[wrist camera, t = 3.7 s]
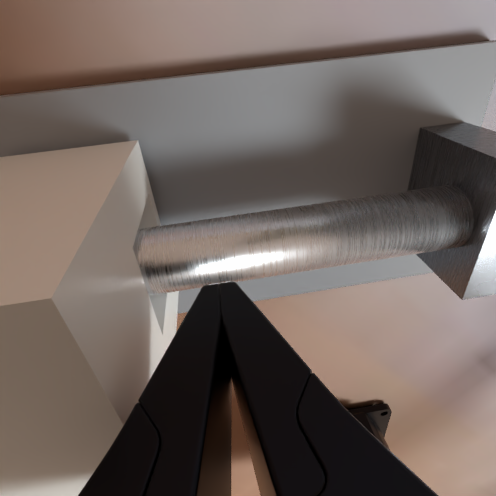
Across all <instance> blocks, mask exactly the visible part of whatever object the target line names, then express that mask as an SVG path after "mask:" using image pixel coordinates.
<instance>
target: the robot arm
mask: <svg viewBox="0 0 496 496" xmlns="http://www.w3.org/2000/svg"><path fill="white" fill-rule="evenodd" d="M232 382H233V386H234V390H235V394H236V398H237V402H238V406H239V410H240V414H241V418H242V422H243V426H244V430H245V434H246V438H247V442H248V446H249V450H250V454H251V458H252V462H253V466H254V470H255V474H256V478H257V482H258V486H259V490H260V495H261V496H438V495H437V494H436V493H435V492H434V491H433V490H432V489H431V488H429V487H428V486H427V485H426V484H425V483H424V482H423V481H422V480H421V479H420V478H419V477H418V476H417V475H415V474H414V473H413V472H412V471H411V470H410V469H409V468H408V467H407V466H406V465H405V464H404V463H403V462H402V461H400V460H399V459H398V458H397V457H396V456H395V455H394V454H393V453H392V452H391V451H390V449H389V447H388V445H387V443H386V441H385V439H384V436H385V433H386V429H387V426H388V422H389V419H390V416H391V409H390V407H389V405H388V404H378V405H373V406H368V407H362V408H357V409H352V410H347V409H346V408H345V407H344V406H343V405H342V404H341V403H340V402H339V401H338V400H337V399H336V397H335V396H334V395H333V394H332V393H331V392H330V391H329V390H328V389H327V388H326V386H325V385H324V384H323V383H322V382H321V381H320V379H319V378H318V377H317V376H316V375H315V374H314V373H312V370H311V369H310V368H309V367H308V366H307V365H306V363H305V362H304V361H303V360H302V359H301V358H300V356H299V355H298V354H297V353H296V352H295V351H294V349H293V348H292V347H291V346H290V345H289V344H288V342H287V341H286V340H285V339H284V338H283V337H282V335H281V334H280V333H279V332H278V331H277V330H276V328H275V327H274V326H273V325H272V324H271V323H270V321H269V320H268V319H267V318H266V317H265V316H264V314H263V313H262V312H261V311H260V310H259V309H258V307H257V306H256V305H255V304H254V303H253V302H252V300H251V299H250V298H249V297H248V296H247V295H246V293H245V292H244V291H243V290H242V289H241V288H240V286H239V285H238V284H237V283H236V282H235V281H229V282H222V283H220V284H218V283H215V284H208V285H204V286H203V287H202V288H201V290H200V292H199V293H198V295H197V297H196V299H195V300H194V302H193V304H192V306H191V308H190V309H189V311H188V313H187V315H186V316H185V318H184V320H183V322H182V323H181V325H180V327H179V329H178V331H177V332H176V334H175V336H174V338H173V339H172V341H171V343H170V345H169V346H168V348H167V350H166V352H165V353H164V355H163V357H162V359H161V361H160V362H159V364H158V366H157V368H156V369H155V371H154V373H153V375H152V376H151V378H150V380H149V382H148V384H147V385H146V387H145V389H144V391H143V392H142V394H141V396H140V398H139V399H138V402H139V403H136V404H135V406H134V408H133V410H132V411H131V413H130V415H129V417H128V419H127V420H126V422H125V424H124V425H123V427H122V429H121V430H120V432H119V434H118V435H117V437H116V439H115V440H114V442H113V444H112V445H111V447H110V449H109V450H108V452H107V453H106V455H105V456H104V458H103V459H102V461H101V462H100V464H99V465H98V467H97V468H96V470H95V471H94V473H93V474H92V476H91V477H90V479H89V480H88V482H87V483H86V485H85V486H84V487H83V489H82V490H81V492H80V493H79V495H78V496H231V404H232Z"/></svg>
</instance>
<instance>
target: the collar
mask: <svg viewBox="0 0 496 496" xmlns="http://www.w3.org/2000/svg"><path fill="white" fill-rule="evenodd" d="M155 226H161V223H160V220H159V216H158V212H157V209H156V205H155V201H154V197H153V194H152V190H151V186H150V183H149V179H148V175H147V172H146V168H145V164H144V161H143V157H142V153H141V149H140V146H139V142H138V140H135V141H126V142H118V143H110V144H102V145H94V146H86V147H78V148H70V149H62V150H54V151H46V152H38V153H30V154H22V155H14V156H5V157H0V496H78V495H79V493H80V492H81V490H82V489H83V487H84V486H85V485H86V483H87V482H88V480H89V479H90V477H91V476H92V474H93V473H94V471H95V470H96V468H97V467H98V465H99V464H100V462H101V461H102V459H103V458H104V456H105V455H106V453H107V452H108V450H109V449H110V447H111V445H112V444H113V442H114V440H115V439H116V437H117V435H118V434H119V432H120V430H121V429H122V427H123V425H124V424H125V422H126V420H127V419H128V417H129V415H130V413H131V411H132V410H133V408H134V406H135V404H136V403H139V402H138V399H139V398H140V396H141V394H142V392H143V391H144V389H145V387H146V385H147V384H148V382H149V380H150V378H151V376H152V375H153V373H154V371H155V369H156V368H157V366H158V364H159V362H160V361H161V359H162V357H163V355H164V353H165V352H166V350H167V348H168V346H169V345H170V343H171V341H172V339H173V338H174V336H175V334H176V327H177V311H178V295H179V291H175V292H169V293H162V294H156V295H150V296H149V295H148V292H147V289H146V286H145V283H144V280H143V277H142V274H141V271H140V268H139V265H138V262H137V260H136V257H135V254H134V251H133V245H134V241H135V238H136V234H137V231H138V229H141V228H148V227H155Z"/></svg>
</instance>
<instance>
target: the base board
mask: <svg viewBox="0 0 496 496" xmlns="http://www.w3.org/2000/svg"><path fill="white" fill-rule="evenodd" d="M495 79H496V41H483V42H474V43H466V44H457V45H448V46H439V47H430V48H421V49H412V50H403V51H394V52H385V53H376V54H367V55H358V56H349V57H340V58H331V59H322V60H313V61H304V62H295V63H287V64H278V65H269V66H260V67H251V68H242V69H233V70H224V71H215V72H206V73H197V74H188V75H179V76H170V77H161V78H152V79H143V80H134V81H125V82H116V83H108V84H99V85H90V86H81V87H72V88H63V89H54V90H45V91H36V92H27V93H18V94H9V95H0V157H5V156H14V155H22V154H30V153H38V152H46V151H54V150H62V149H70V148H78V147H86V146H94V145H102V144H110V143H118V142H126V141H135V140H138V142H139V146H140V149H141V153H142V157H143V161H144V164H145V168H146V172H147V175H148V179H149V183H150V186H151V190H152V194H153V197H154V201H155V205H156V209H157V212H158V216H159V220H160V223H161V226H163V225H170V224H177V223H184V222H191V221H198V220H205V219H212V218H219V217H226V216H233V215H240V214H247V213H254V212H261V211H268V210H275V209H282V208H289V207H296V206H303V205H310V204H317V203H324V202H332V201H339V200H346V199H353V198H360V197H367V196H374V195H381V194H388V193H395V192H402V191H407V189H408V184H409V180H410V175H411V170H412V165H413V160H414V155H415V150H416V145H417V140H418V135H419V130H420V127H428V126H435V125H443V124H451V123H459V122H466V123H470V124H473V125H476V126H479V127H481V125H482V122H483V118H484V115H485V112H486V109H487V105H488V102H489V99H490V95H491V92H492V89H493V85H494V82H495ZM427 273H433V271H432V270H431V269H430V268H429V267H428V266H427V265H426V264H425V263H424V262H423V261H422V260H421V259H420V258H419V257H418V256H417V255H416V254H413V255H406V256H400V257H393V258H387V259H381V260H374V261H368V262H361V263H355V264H348V265H342V266H336V267H329V268H323V269H316V270H310V271H304V272H297V273H291V274H284V275H278V276H271V277H265V278H259V279H252V280H246V281H239V282H236V283H237V284H238V285H239V286H240V288H241V289H242V290H243V291H244V292H245V293H246V295H247V296H248V297H249V298H250V299H251V300H252V301H259V300H265V299H271V298H277V297H283V296H290V295H296V294H302V293H308V292H315V291H321V290H327V289H333V288H340V287H346V286H352V285H358V284H364V283H371V282H377V281H383V280H389V279H396V278H402V277H408V276H414V275H421V274H427ZM201 288H202V287H201ZM201 288H194V289H188V290H182V291H179V295H178V311H177V313H184V312H188V311H189V309H190V308H191V306H192V304H193V302H194V300H195V299H196V297H197V295H198V293H199V292H200V290H201Z"/></svg>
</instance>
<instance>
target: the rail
mask: <svg viewBox="0 0 496 496" xmlns="http://www.w3.org/2000/svg"><path fill="white" fill-rule="evenodd" d="M133 251H134V254H135V257H136V260H137V262H138V265H139V268H140V271H141V274H142V277H143V280H144V283H145V286H146V289H147V292H148V295H149V296H150V295H156V294H162V293H169V292H175V291H182V290H188V289H194V288H201V287H203V286H204V285H208V284H215V283H218V284H220V283H222V282H229V281H235V282H239V281H246V280H252V279H259V278H265V277H271V276H278V275H284V274H291V273H297V272H304V271H310V270H316V269H323V268H329V267H336V266H342V265H348V264H355V263H361V262H368V261H374V260H381V259H387V258H393V257H400V256H406V255H413V254H416V255H417V256H418V257H419V258H420V259H421V260H422V261H423V262H424V263H425V264H426V265H427V266H428V267H429V268H430V269H431V270H432V271H433V272H434V273H435V274H436V275H437V276H438V277H439V278H440V279H441V280H442V281H443V282H444V283H445V284H447V285H448V286H449V287H450V288H451V289H452V290H453V291H454V292H455V293H456V294H457V295H458V296H459V297H460V298H461V299H462V300H464V299H470V298H476V297H482V296H488V295H494V294H496V132H495V131H492V130H489V129H485V128H482V127H479V126H476V125H473V124H470V123H466V122H459V123H451V124H443V125H435V126H428V127H420V130H419V135H418V140H417V145H416V150H415V155H414V160H413V165H412V170H411V175H410V180H409V184H408V189H407V191H402V192H395V193H388V194H381V195H374V196H367V197H360V198H353V199H346V200H339V201H332V202H324V203H317V204H310V205H303V206H296V207H289V208H282V209H275V210H268V211H261V212H254V213H247V214H240V215H233V216H226V217H219V218H212V219H205V220H198V221H191V222H184V223H177V224H170V225H163V226H155V227H148V228H141V229H138V231H137V234H136V238H135V241H134V245H133Z"/></svg>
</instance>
